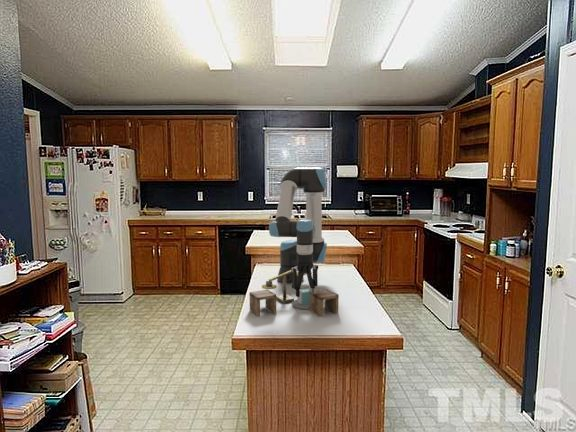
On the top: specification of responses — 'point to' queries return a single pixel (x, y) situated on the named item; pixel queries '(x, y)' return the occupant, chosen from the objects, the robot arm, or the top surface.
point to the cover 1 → (262, 295)
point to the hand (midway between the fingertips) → (304, 302)
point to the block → (305, 296)
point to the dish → (300, 305)
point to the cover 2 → (318, 298)
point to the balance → (284, 297)
